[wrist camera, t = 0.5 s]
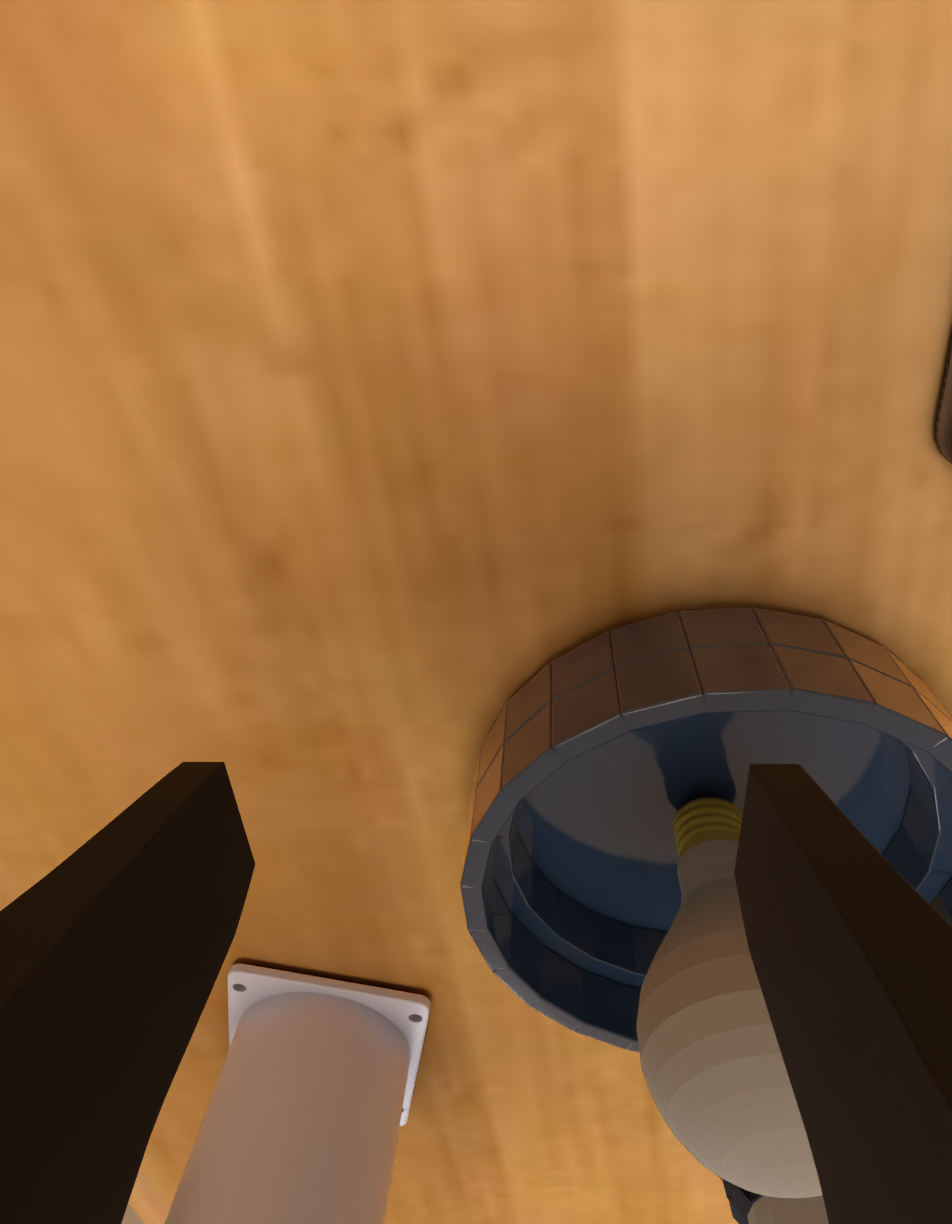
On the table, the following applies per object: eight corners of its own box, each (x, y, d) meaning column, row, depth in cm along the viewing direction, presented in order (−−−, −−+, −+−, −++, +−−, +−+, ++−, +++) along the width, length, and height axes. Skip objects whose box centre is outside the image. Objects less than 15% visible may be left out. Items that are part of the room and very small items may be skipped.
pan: (836, 977, 27) (878, 1094, 23) (447, 909, 27) (432, 1017, 23) (1049, 652, 20) (1155, 752, 16) (518, 559, 20) (511, 640, 16)
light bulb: (617, 737, 22) (662, 1100, 13) (810, 740, 21) (989, 1120, 13) (610, 867, 25) (644, 1238, 16) (782, 872, 24) (913, 1260, 15)
